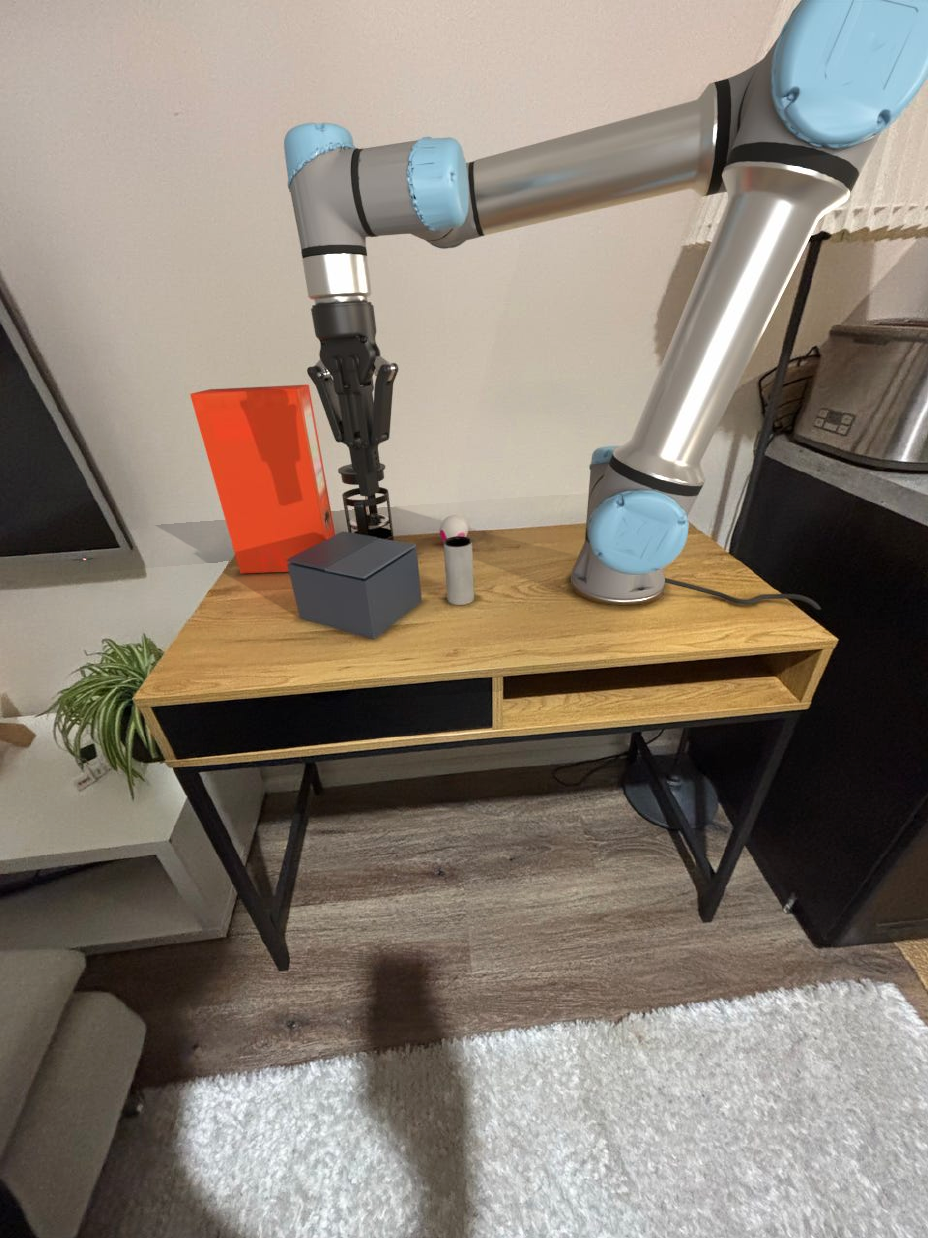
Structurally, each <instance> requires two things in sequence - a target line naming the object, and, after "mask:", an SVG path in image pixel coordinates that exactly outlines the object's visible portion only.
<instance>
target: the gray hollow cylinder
mask: <svg viewBox="0 0 928 1238" xmlns="http://www.w3.org/2000/svg"><path fill="white" fill-rule="evenodd" d="M473 553H474V550H473V540H472V538H469V537H468V536H466V537H463V536H455V537H450V538H447V539H446V540H445V541H443V556H444V570H445V571H444V572H445V585H446V586H445V587H446V598H447V601H448V603H450V604H451V605H455V606H464V605H468V604H471V603H472V602H473V601H474V600H475V585H474V584H475V579H474V577H475V575H474V554H473Z"/></svg>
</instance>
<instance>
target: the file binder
mask: <svg viewBox="0 0 928 1238" xmlns="http://www.w3.org/2000/svg"><path fill="white" fill-rule="evenodd" d="M311 395H312V394H311V390H310V384H291V385H271V386H269V385H268V386H250V387H248V386H247V387H246V386H245V387H230V388H229V387H228V388H227V387H226V388H209V389H204V390H201V391H197V392H196V391H195V392H192V393H190V399H191V400H190V401H191V403H192V406H193V410H194V414H195V417H196V420H197V423H198V428H199V431H200V435H201V437H202V442H203V445H204V450H205V452H206V456H207V459H208V463H209V467H210V471H211V474H212V478H213V481H214V484H215V489H216V492H217V495H218V500H219V502H220V505H221V506H220V507H221V509H222V513H223V516H224V519H225V524H226V527H227V530H228V534H229V537H230V541H231V544H232V549H233V550H234V551H233V552H234V555H235V559H236V563H237V566H238V569H239V573H240V574H257V573H259V574H260V573H263V574H264V573H287V572H288V573H289V570H288V566H287V564H289V563H291V562H287V559H289V558H291V557H293V556H295V555H297V554H299V553H301V552H303V551H305V550H307V549H309V548H311V547H313V546H315V545H317V544H319V543H321V542H323V541H325V540H327V539H329V538H331V537H333V536H335V535H336V531H335V526H334V520H333V515H332V510H331V503H330V497H329V492H328V485H327V479H326V475H325V469H324V464H323V458H322V452H321V446H320V440H319V435H318V434H319V433H318V429H317V422H316V418H315V413H314V407H313V401H312V396H311Z"/></svg>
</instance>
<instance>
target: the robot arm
mask: <svg viewBox="0 0 928 1238" xmlns="http://www.w3.org/2000/svg"><path fill="white" fill-rule="evenodd" d="M927 79H928V0H800V1H799V2H798V4H797V5H796V6H795V7H794V9H792V11H791V13H790V15H789V17H788V19H787V21H786V22H785V24H784V25H783V27H782V29H781V31H780V32H779V36H778V37H777V39H776V40H775V41H774V43H773V45H772V46H771V47H770V48H769V50H768V51H767V52H766V54H765V56H764V57H763V58H762V59H760V61H758V62H756V63H755V64H753V65H752V66H750V67H749V68H747V69H746V70H744V71H741V72H740V73H738V74H734V75H733V76H730V77H728V78H724V79H721V80H717V81H712V82H710V83H708V85H707V86H706V87H705V89H704V90H703V91H702V92H701V94H700V96H698V98H697V99H695V100H691V101H687V102H683V103H680V104H676V105H672V106H669V107H665V108H661V109H658V110H655V111H650V112H647V113H644V114H640V115H636V116H632V117H628V118H625V119H621V120H618V121H614V122H610V123H607V124H602V125H599V126H595V127H592V128H588V129H584V130H581V131H577V132H573V133H570V134H565V135H562V136H559V137H555V138H552V139H547V140H544V141H540V142H537V143H533V144H529V145H525V146H522V147H518V148H514V149H511V150H508V151H504V152H499V153H496V154H493V155H489V156H485V157H481V158H478V159H474V160H473V161H468V162H466V158H465V155H464V150H463V146H462V145H461V144H460V142H459V141H458V140H457V139H456V138H454V137H450V136H449V137H431V136H423V137H422V138H419V139H416V140H410V141H403V142H396V143H390V144H384V145H377V146H370V147H365V148H364V147H362V148H358V147H356V146H355V145H354V139H353V136H352V134H351V132H350V130H348V128H346V127H345V126H342V125H339V124H336V123H331V122H321V123H315V122H305V123H301V124H298V125H295V126H293V127H291V128H290V129H289V130H288V131H287V132H286V134H285V135H284V140H283V149H284V158H285V165H286V173H287V188H288V189H289V193H290V198H291V203H292V208H293V214H294V219H295V224H296V229H297V235H298V241H299V244H300V251H301V258H302V266H303V272H304V277H305V284H306V291H307V297H308V298H309V299H310V300H312V301H314V304H313V305H312V306H311V308H310V311H311V317H312V324H313V329H314V334H315V337H316V338H317V339H318V341H319V344H320V347H319V352H318V353H319V354H318V355H319V360H318V361H317V362H316V363H315V365H314V366H309V367H307V369H306V372H307V375H308V377H309V378H310V380H311V381H312V383H313V384H314V386H315V388H316V390H317V394H318V396H319V399H320V402H321V405H322V407H323V410H324V412H325V416H326V419H327V422H328V425H329V427H330V430H331V432H332V436H333V438H334V440H335V442H336V443H341V444H344V445H346V447H347V448H348V451H349V457H350V462H351V463H350V464H352V468H353V470H354V471H357V478H358V484H359V485H358V488H359V490H360V494H359V495H360V497H365V496H367V497H369V496H371V495H373V494H375V495H376V494H378V493H377V492H379V491H380V490H379V487H380V483H379V482H378V476H377V470H379V469H380V463H381V462H380V454H379V453H380V452H379V445H380V444H383V443H385V442H387V441H389V439H390V435H391V422H392V421H391V420H392V407H393V394H394V393H393V392H394V383H395V380H396V377H397V376H398V373H399V365H398V364H397V363H396V362H391V363H390V362H389V361H387V359H385V358H384V357H382V356H381V350H380V348H379V346H378V344H377V340H376V335H377V323H376V315H375V307H374V305H373V304H372V302H371V301H368V298H369V297H370V296H371V295H372V293H373V292H372V285H371V278H370V277H371V276H370V268H369V261H368V260H369V259H368V250H367V244H366V243H367V241H366V239H367V238H377V237H381V236H385V237H386V236H396V235H397V236H398V235H412V236H414V237H417V238H419V239H420V240H423V241H426V242H427V243H429V244H430V245H431V246H433V247H435V248H436V249H437V248H438V249H443V250H447V249H454V248H458V247H459V246H461V245H463V244H464V243H465V242H467V241H469V240H475V239H478V238H481V237H485V236H488V235H492V234H497V233H501V232H506V231H510V230H514V229H519V228H524V227H528V226H533V225H536V224H541V223H545V222H549V221H550V222H551V221H555V220H559V219H563V218H568V217H571V216H577V215H580V214H584V213H590V212H594V211H600V210H604V209H607V208H611V207H612V208H613V207H617V206H620V205H624V204H629V203H633V202H634V203H635V202H639V201H643V200H647V199H652V198H656V197H660V196H664V195H669V194H673V193H677V192H681V191H686V190H692V191H694V192H695V193H696V194H697V195H698V196H699V197H700V198H703V197H708V196H712V195H717V194H721V193H723V194H724V193H726V194H727V202H726V204H725V207H724V210H723V213H722V215H721V218H720V220H719V222H718V225H717V227H716V230H715V232H714V235H713V236H712V239H711V242H710V244H709V247H708V249H707V252H706V254H705V257H704V259H703V260H702V261H703V262H702V264H701V266H700V269H699V272H698V275H697V277H696V279H695V280H694V281H695V282H694V284H693V286H692V289H691V292H690V294H689V296H688V299H687V301H686V304H685V306H684V308H683V311H682V314H681V316H680V318H679V321H678V323H677V326H676V329H675V330H674V333H673V336H672V338H671V341H670V343H669V346H668V347H667V350H666V353H665V354H664V358H663V361H662V363H661V365H660V368H659V370H658V373H657V375H656V378H655V380H654V383H653V385H652V387H651V390H650V392H649V395H648V398H647V400H646V403H645V405H644V408H643V409H642V412H641V415H640V417H639V419H638V422H637V425H636V427H635V430H634V432H633V435H632V437H631V439H630V440H629V441H628V442H626V443H624V444H622V445H607V446H600V447H598V448H597V447H596V448H595V450H594V451H593V452H592V454H591V459H590V460H591V461H590V464H589V466H588V467H589V468H588V469H589V470H590V471H589V485H588V495H587V496H588V497H587V507H586V508H587V510H586V521H585V533H584V542H583V544H582V547H581V549H580V551H579V553H578V556H577V558H576V561H575V563H574V565H573V568H572V571H571V573H570V574H571V575H570V586H571V588H572V589H571V590H572V591H574V593H575V594H577V595H579V596H580V597H581V598H583V599H585V600H588V601H590V602H593V603H596V604H600V605H604V606H610V607H621V608H623V607H624V608H626V607H627V608H629V607H639V606H644V605H648V604H651V603H653V602H655V601H657V600H659V599H660V598H661V597H662V596H663V595H664V592H665V587H666V584H669V585H672V586H677V587H681V588H684V589H688V590H693V591H696V592H700V593H704V594H707V595H711V596H715V597H718V598H721V599H724V600H726V601H729V602H731V603H734V604H739V605H752V604H755V603H757V602H759V601H762V600H783V599H784V600H785V599H786V600H798V601H802V602H804V603H806V604H808V605H809V606H811V607H812V608H813V609H815V610H821V609H822V608H821V606H820V605H819V604H818V603H817V602H816V601H815V600H813V599H812V598H810V597H808V596H805V595H800V594H797V593H766V594H765V593H764V594H759V595H756V596H754V597H751V598H748V599H746V598H745V599H743V598H737V597H734V596H732V595H729V594H726V593H724V592H721V591H717V590H715V589H712V588H711V589H710V588H708V587H703V586H700V585H695V584H691V583H688V582H684V581H680V580H675V579H671V578H667V577H666V575H665V571H664V569H665V567H667V566H669V565H670V564H672V563H673V562H674V561H675V560H676V559H677V558H678V557H679V556H680V554H681V553H682V551H683V550H684V548H685V546H686V545H687V542H688V541H687V540H688V537H689V536H688V535H689V529H690V523H689V518H688V517H689V514H690V512H691V511H692V509H693V507H694V506H695V505H694V504H695V503H696V500H697V498H698V497H699V494H700V492H701V491H702V488H703V487H704V485H705V483H706V478H705V476H704V472H703V470H702V467H701V461H702V459H703V457H704V455H705V453H706V451H707V449H708V447H709V445H710V442H711V441H712V438H713V437H714V435H715V432H716V430H717V428H718V427H719V424H720V423H721V421H722V418H723V416H724V414H725V413H726V410H727V408H728V407H729V403H730V402H731V400H732V399H733V396H734V394H735V391H736V389H737V387H738V386H739V384H740V381H741V379H742V378H743V375H744V373H745V372H746V369H747V367H748V365H749V363H750V361H751V359H752V357H753V355H754V353H755V350H756V349H757V347H758V344H759V342H760V341H761V338H762V336H763V334H764V333H765V330H766V328H767V327H768V324H769V322H770V321H771V318H772V317H773V314H774V312H775V310H776V308H777V306H778V304H779V301H780V300H781V297H782V295H783V293H784V291H785V289H786V287H787V285H788V283H789V281H790V279H791V277H792V275H793V273H794V271H795V269H796V267H797V265H798V263H799V261H800V259H801V257H802V254H803V252H804V250H805V248H806V247H807V244H808V243H809V240H810V238H811V236H812V234H813V232H814V231H815V228H816V226H817V224H818V222H819V220H820V219H822V218H823V217H824V216H825V215H826V214H828V213H829V212H831V211H832V210H835V209H836V208H838V207H839V206H841V205H842V204H844V203H846V202H847V201H848V199H849V197H850V196H851V193H852V191H853V189H854V187H855V186H856V183H857V181H858V179H859V178H860V176H861V174H862V171H863V170H864V169H865V165H866V164H867V161H868V159H869V158H870V156H871V154H872V152H873V150H874V148H875V146H876V144H877V142H878V140H879V138H880V137H881V134H882V132H884V131H885V130H886V129H888V128H889V127H890V126H891V125H893V124H894V123H895V122H896V120H898V119H899V117H900V116H901V115H902V114H903V113H904V111H906V109H907V108H908V107H909V106H910V104H911V102H913V100H914V99H915V98H916V96H917V95H918V93H919V92H920V90H921V89H922V88H923V86H924V85H925V83H926V81H927ZM374 376H375V382H374V378H373V377H374Z"/></svg>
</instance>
